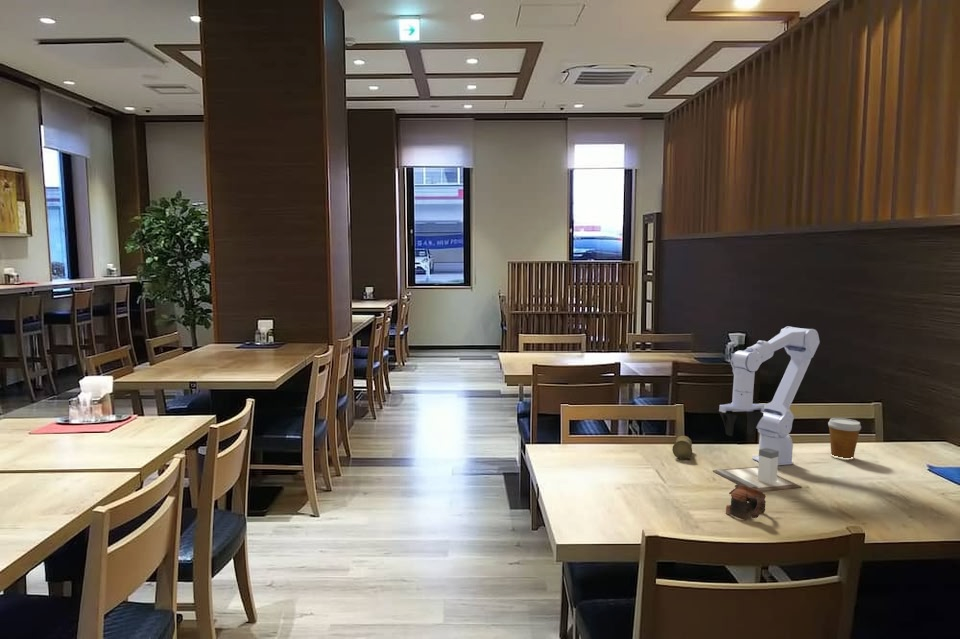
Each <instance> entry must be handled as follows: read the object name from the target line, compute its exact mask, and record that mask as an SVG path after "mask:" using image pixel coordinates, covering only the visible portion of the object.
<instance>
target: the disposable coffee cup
mask: <svg viewBox="0 0 960 639" xmlns="http://www.w3.org/2000/svg"><path fill="white" fill-rule="evenodd" d="M827 425H828V428H829V441H830V444H829V445H830V455H831V454H832V455H834V456H838V457H843V458H851V457H853V458H854V457H855V454H856V447H857V443H858V439H859V434H860V431H861V429H862V426H861V422H860V421H858V420H856V419H850V418H844V417H832V418H830V419H829V421H828V422H827Z"/></svg>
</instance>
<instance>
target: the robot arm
mask: <svg viewBox="0 0 960 639" xmlns="http://www.w3.org/2000/svg"><path fill="white" fill-rule="evenodd" d="M820 343H821V341H820V337H819V333H818V331H817V329H814V328H802V327H801V328H800V327H794V326H789V325H787V326H785V327H784V328H781V329H780V331H779V333H778V334H776V335H775V336H773V337H772V338H771V339H770V340H768V341H766V340H760V339H759V340H758V341H756V343H755V344H753V345H751V346H748V347H746V349H744V350H742V349H741V350H737V351H735V352H734V353H733V354H732V356H731V359H730V365H731V367H732V373H733V386H732V396H731V397H732V400H731V401H732V402H730V403H725V404H719V409H718V412H719V415H720V417H721V419H722V421H723V425H724V429H725V435H726V436H729V437H732V436H733V434H734V427H735V426H734V425H735V421H736V420H737V417H738V415H737V414H734V412H735V413H736V412H745V414H746V421H747V425H746V427H747V428H746V431H747V435H750V436H754V435H755V432H756V429H757V432H758V433H759V442H758V451H759V450H760V449H764V448H769V449H773V450H777V451H779V456H778V466H785V465H786V466H787V465H794V462H793V451H794V450H793V448H794V443H793V440H792V437H791V436H790V435H789V434H790V433H791V431H792V429H793V428H792V427H793V422H794V420H795V416H794V414H793V412H792V411H791V409H790V407H791V405H792V403H793V401H794V399H795V396H796V394H797V392H798V390H799V387H800V386H801V383H802V381H803V379H804V377H805V374H806V372H807V370H808V367H809V365H810V363H811V360H812V358H814V357H815V356H814V355H815V354H816V351H817V350H818V347H819V345H820ZM782 348H784V351H785V352H786V354H787V355H788V356H790V361H789V363H788V364H787V367H786V369H785V371H784V374H783V377H782V379H781V381H780V382H779V384H778V387H777V389H776V391H775V393H774V396H773V398H772V400H771V401H770V402H767V403H765V404H763V403H753V402H754V400H753V399H754V388H755V387H754V384H755V373H756V372H757V371H758V370H759V368H760V366H761V364H762V363H764V362H766V361H767V360H769V359H771V358H772V357H773V356H774V354H775V352H776V351H778V350H780V349H782ZM751 459H752V460H755V461H757V462H758V463H759V454H758V456H752V457H751Z"/></svg>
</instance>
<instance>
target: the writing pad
mask: <svg viewBox="0 0 960 639" xmlns="http://www.w3.org/2000/svg"><path fill="white" fill-rule="evenodd" d="M758 466H759V465H757V466H749V467H747V466H746V467H745V466H744V467H736V468H725V469H713V470H712V472H713V473H715V474H717V475H719V476H721V477H723V479H726V480H728V481H730V482H732V483H734V484H735V485H744V486H748V487H751V488H754V489H756V490H759V491H760V492H762V493H764V492H770V491H771V492H772V491H781V490H783V491H784V490H792V489H794V490H795V489H801V488H802V486H801V485H799V484H797V483H795V482H793V481H791V480H788V479H786V478H784V477H782V476H780V475H778V474H777V482H775V483H772V484H767V483H764V482H761V481H758Z"/></svg>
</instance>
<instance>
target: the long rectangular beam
mask: <svg viewBox="0 0 960 639" xmlns="http://www.w3.org/2000/svg"><path fill="white" fill-rule="evenodd" d="M758 455H759V462H758V465H757V466H758V481H761V482H764V483H767V484H772V483H775V482H777V475H778V466H779V465H778V456H779V451H777V450H773V449H769V448H764V449H760V450H759V449H758Z"/></svg>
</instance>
